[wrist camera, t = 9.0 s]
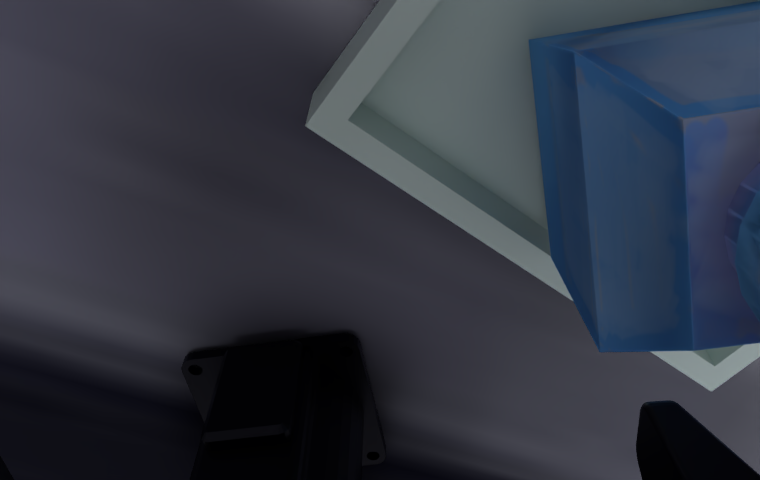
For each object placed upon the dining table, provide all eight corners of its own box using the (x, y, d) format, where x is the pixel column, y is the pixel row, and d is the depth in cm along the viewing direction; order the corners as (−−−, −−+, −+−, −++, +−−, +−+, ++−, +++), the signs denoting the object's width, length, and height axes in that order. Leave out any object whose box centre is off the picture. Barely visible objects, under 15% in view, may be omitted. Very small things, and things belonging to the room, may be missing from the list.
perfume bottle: (551, 257, 21) (700, 546, 10) (528, 39, 19) (677, 77, 8) (772, 227, 20) (1214, 498, 9) (769, -1, 19) (1316, -25, 7)
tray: (970, 124, 21) (1028, 160, 19) (687, 345, 26) (711, 391, 24) (574, -271, 16) (599, -276, 14) (312, 93, 21) (304, 126, 19)
